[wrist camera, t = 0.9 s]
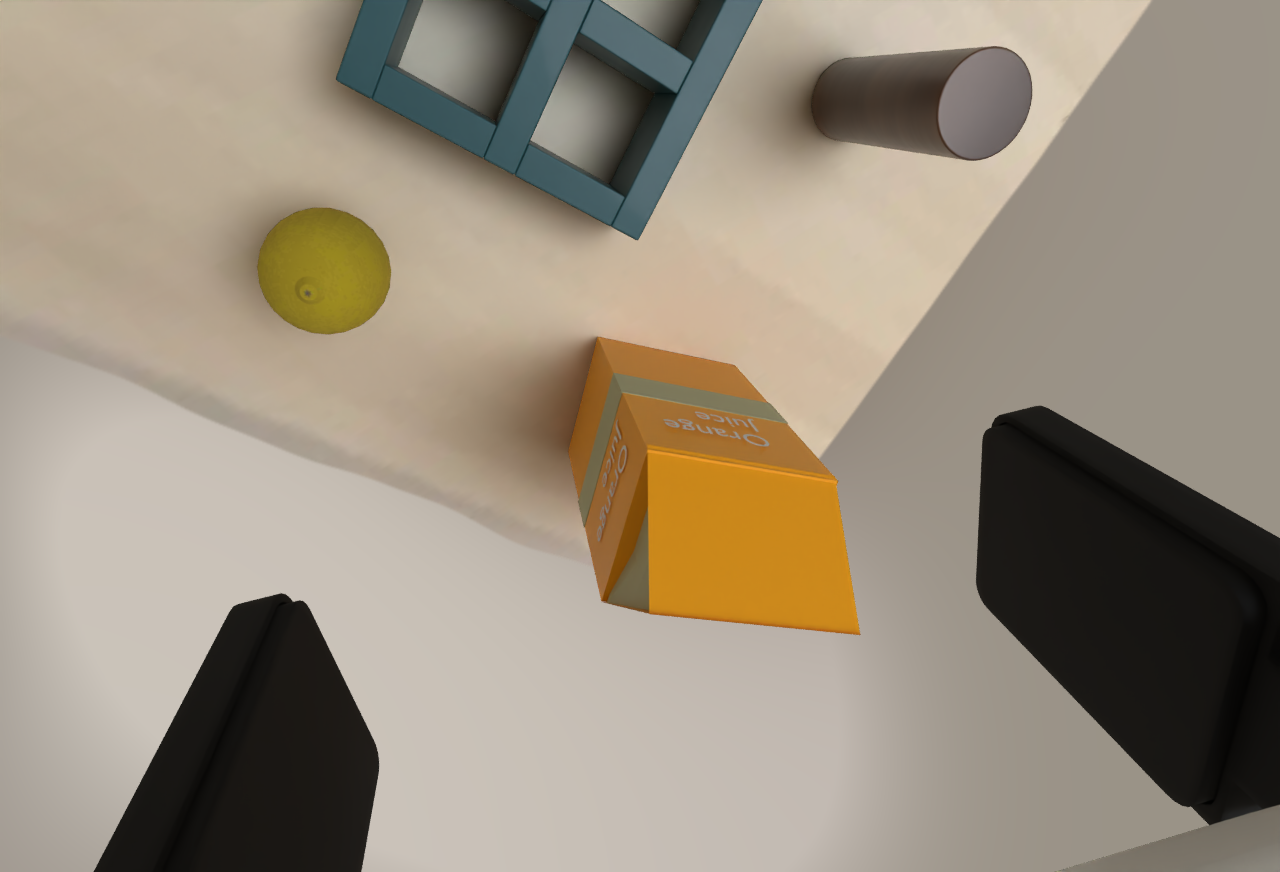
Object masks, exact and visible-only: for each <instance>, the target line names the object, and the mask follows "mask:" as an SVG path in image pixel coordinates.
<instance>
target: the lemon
mask: <svg viewBox="0 0 1280 872" xmlns="http://www.w3.org/2000/svg"><path fill="white" fill-rule="evenodd" d="M257 269H258V277H259V284H260V287H261V289H262V292H263V295H264V297H265V299H266V300H267V302H268V303H269V305H270V306H271V307H272V309H273V310H274V311H275V312H276V313H277V314H278V315H279V316H280V317H282V318H283V319H284V320H285V321H287V322H288V323H290V324H292V325H293V326H295V327H297V328H299V329H302V330H305V331H308V332H311V333H320V334H334V333H342V332H346V331H348V330H351V329H353V328H356V327H358V326H360V325H362V324H363V323H365V322H366V321H367V320H369V319H370V318H371V317H373V316H374V315H375V313H376V312H377V311H378V309H379V308H380V307H381V306H382V304H383V303H384V301H385V298H386V296H387V293H388V290H389V288H390V278H391V268H390V262H389V256H388V254H387V252H386V250H385V247H384V245H383V243H382V241H381V240H380V239H379V237H378V236H377V235H376V233H375V232H374V231H373V229H371V228H370V227H369V226H368V225H367V224H365V223H364V222H363V221H362V220H361V219H359V218H357V217H355V216H353V215H351V214H349V213H347V212H343V211H340V210H336V209H332V208H310V209H306V210H302V211H298V212H295V213H293V214H292V215H290V216H288V217H286V218H285V219H283V220H281V221H280V222H279V223H278V224H277V225H276V226H275V227H274V228H273V229H272V230H271V231H270V232H269V233H268V235H267V237H266V239H265V241H264V243H263V245H262V247H261V249H260V253H259V260H258V266H257Z"/></svg>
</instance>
